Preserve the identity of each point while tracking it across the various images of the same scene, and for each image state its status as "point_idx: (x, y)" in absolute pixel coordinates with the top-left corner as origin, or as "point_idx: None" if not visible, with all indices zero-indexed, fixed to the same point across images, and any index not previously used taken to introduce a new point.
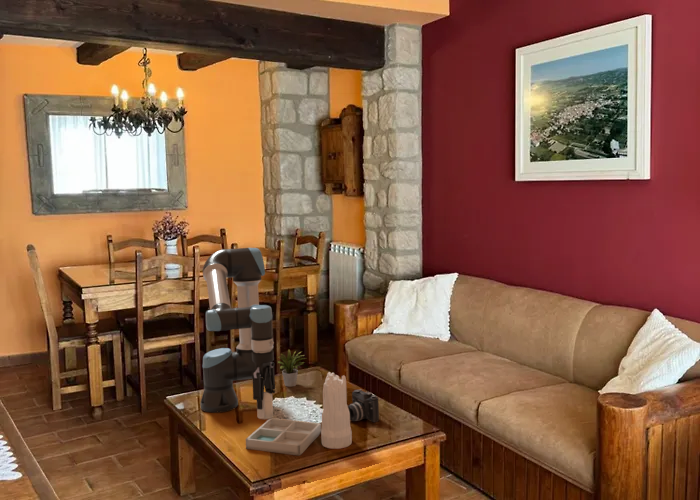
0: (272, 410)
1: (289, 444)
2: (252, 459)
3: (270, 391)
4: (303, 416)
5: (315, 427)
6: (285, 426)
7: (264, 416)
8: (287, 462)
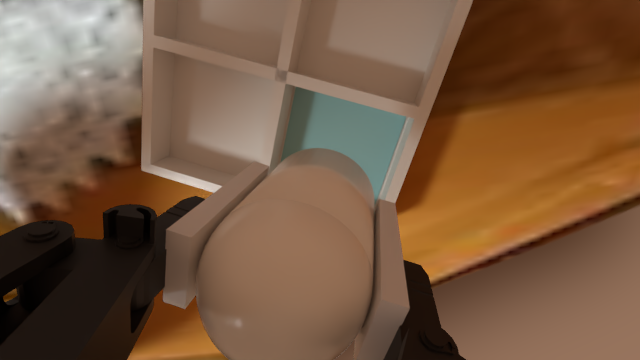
0: (318, 163)
1: (469, 6)
2: (487, 183)
3: (147, 263)
4: (36, 32)
5: None
6: (172, 93)
7: (394, 208)
8: (555, 9)
